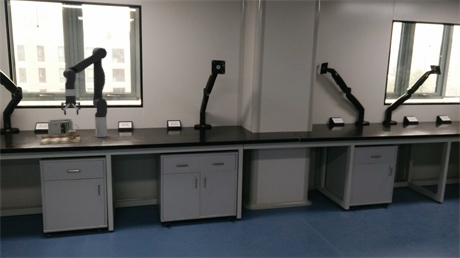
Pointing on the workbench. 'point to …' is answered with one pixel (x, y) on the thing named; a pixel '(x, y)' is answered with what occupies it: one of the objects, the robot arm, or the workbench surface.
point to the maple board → (59, 139)
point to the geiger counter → (60, 126)
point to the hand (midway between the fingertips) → (71, 115)
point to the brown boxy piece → (72, 134)
